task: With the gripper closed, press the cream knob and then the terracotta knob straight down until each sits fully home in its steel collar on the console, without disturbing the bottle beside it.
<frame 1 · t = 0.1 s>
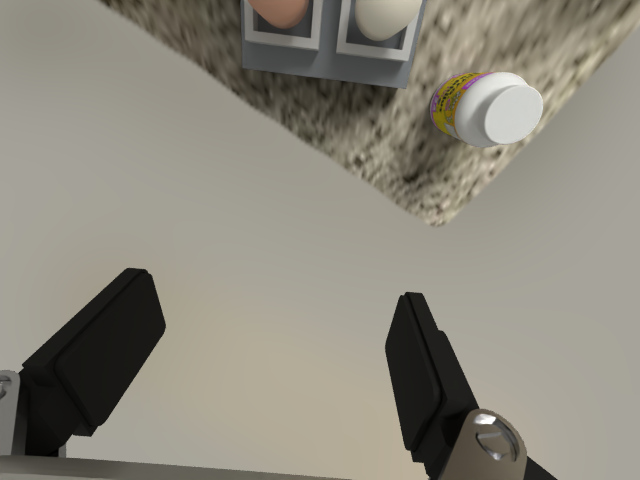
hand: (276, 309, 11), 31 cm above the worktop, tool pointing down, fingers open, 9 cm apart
knob cream: (385, 1, 23), point 9 cm above the worktop, slide at 0.0 cm
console: (331, 16, 30), on the worktop
supplement bottle: (454, 104, 35), on the worktop
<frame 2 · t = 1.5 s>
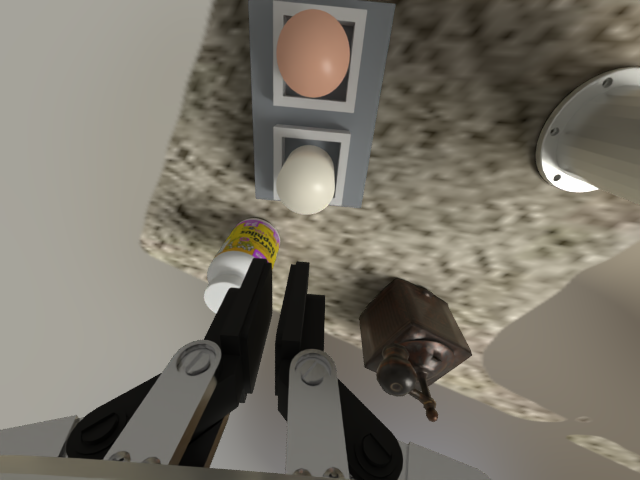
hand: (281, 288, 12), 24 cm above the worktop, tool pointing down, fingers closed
knob cream: (307, 178, 25), point 9 cm above the worktop, slide at 0.0 cm
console: (315, 113, 30), on the worktop
knob terracotta: (314, 58, 20), point 9 cm above the worktop, slide at 0.0 cm
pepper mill: (390, 302, 44), on the worktop
supplement bottle: (257, 236, 39), on the worktop
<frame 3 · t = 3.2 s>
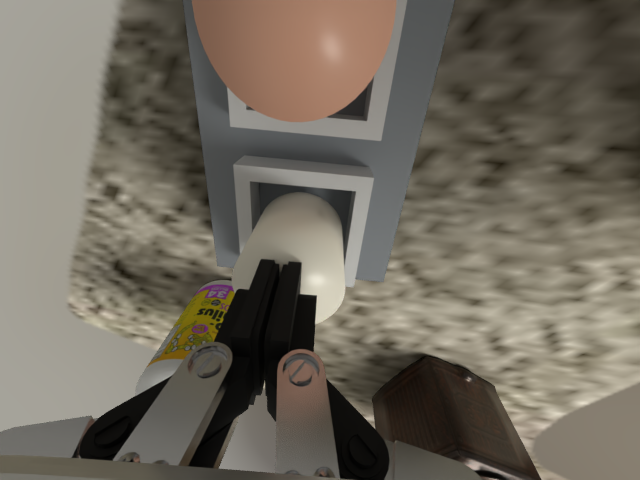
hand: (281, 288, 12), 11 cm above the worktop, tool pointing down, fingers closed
knob cream: (295, 255, 14), point 8 cm above the worktop, slide at -0.7 cm, touching gripper
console: (312, 132, 19), on the worktop
knob terracotta: (303, 29, 9), point 9 cm above the worktop, slide at 0.0 cm
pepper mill: (415, 381, 32), on the worktop
supplement bottle: (231, 301, 27), on the worktop
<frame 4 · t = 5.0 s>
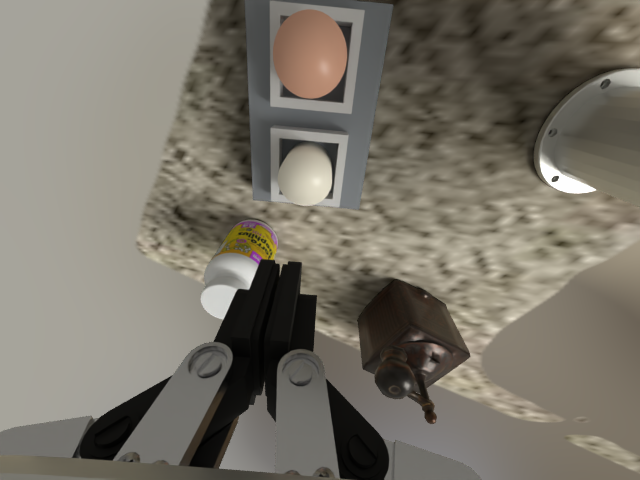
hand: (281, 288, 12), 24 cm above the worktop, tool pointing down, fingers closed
knob cream: (306, 172, 26), point 7 cm above the worktop, slide at -2.3 cm
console: (313, 114, 30), on the worktop
knob terracotta: (312, 59, 20), point 9 cm above the worktop, slide at 0.0 cm
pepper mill: (388, 303, 44), on the worktop
supplement bottle: (255, 238, 38), on the worktop
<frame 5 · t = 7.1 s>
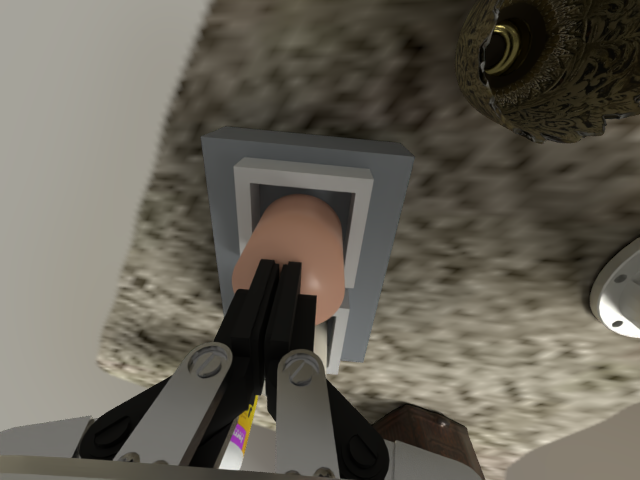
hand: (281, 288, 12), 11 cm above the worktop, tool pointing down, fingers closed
knob cream: (293, 348, 20), point 7 cm above the worktop, slide at -2.3 cm
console: (305, 246, 23), on the worktop
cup: (488, 51, 16), on the worktop
knob terracotta: (295, 256, 14), point 8 cm above the worktop, slide at -0.7 cm, touching gripper
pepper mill: (397, 422, 37), on the worktop
supplement bottle: (237, 361, 32), on the worktop
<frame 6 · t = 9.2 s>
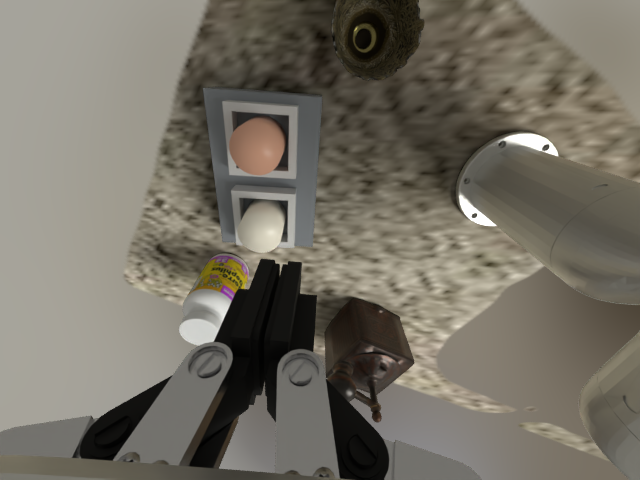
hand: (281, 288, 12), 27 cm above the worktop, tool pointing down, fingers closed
knob cream: (263, 223, 32), point 7 cm above the worktop, slide at -2.3 cm
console: (270, 169, 36), on the worktop
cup: (363, 39, 29), on the worktop
knob terracotta: (260, 144, 28), point 7 cm above the worktop, slide at -2.3 cm
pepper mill: (350, 317, 50), on the worktop
supplement bottle: (229, 268, 44), on the worktop
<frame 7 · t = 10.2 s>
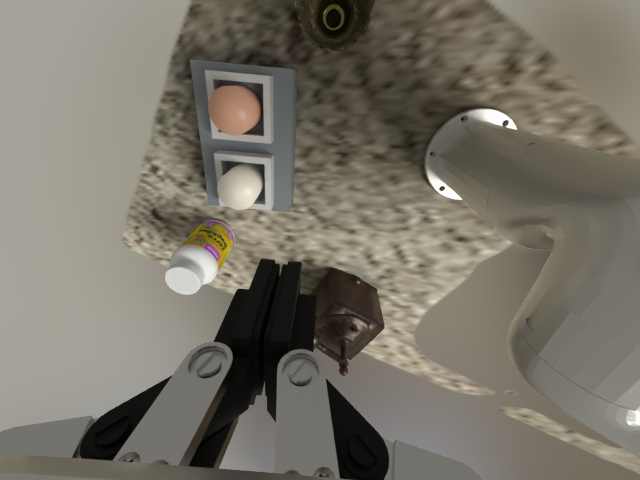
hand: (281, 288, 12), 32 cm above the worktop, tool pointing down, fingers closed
knob cream: (242, 185, 36), point 7 cm above the worktop, slide at -2.3 cm
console: (253, 139, 39), on the worktop
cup: (333, 19, 32), on the worktop
knob terracotta: (237, 109, 31), point 7 cm above the worktop, slide at -2.3 cm
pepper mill: (330, 288, 53), on the worktop
supplement bottle: (217, 234, 48), on the worktop
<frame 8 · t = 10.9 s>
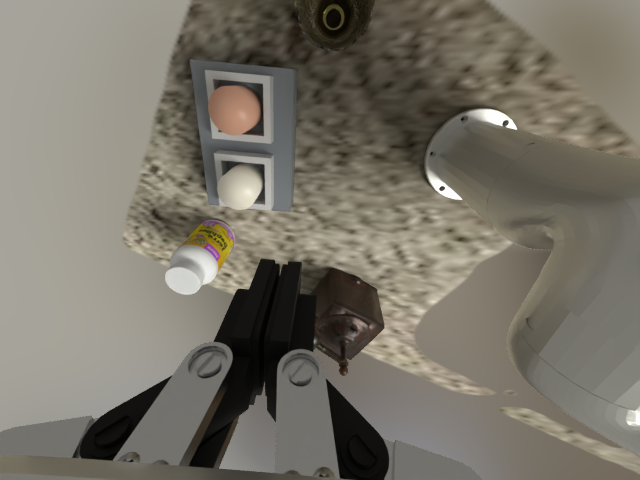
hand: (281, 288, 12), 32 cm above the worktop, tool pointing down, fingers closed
knob cream: (242, 185, 36), point 7 cm above the worktop, slide at -2.3 cm
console: (253, 139, 39), on the worktop
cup: (333, 19, 32), on the worktop
knob terracotta: (237, 109, 31), point 7 cm above the worktop, slide at -2.3 cm
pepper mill: (330, 288, 53), on the worktop
supplement bottle: (217, 234, 48), on the worktop
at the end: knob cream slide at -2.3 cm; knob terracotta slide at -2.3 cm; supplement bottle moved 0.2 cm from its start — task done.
